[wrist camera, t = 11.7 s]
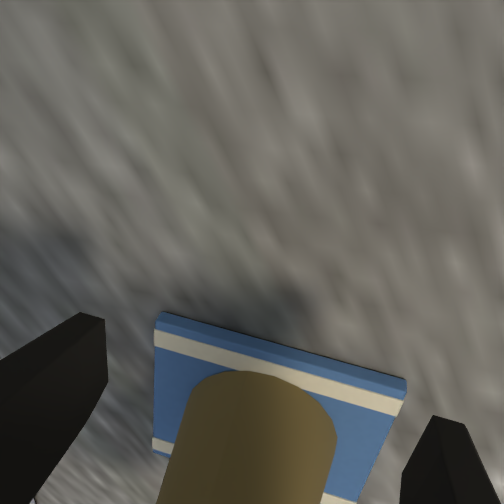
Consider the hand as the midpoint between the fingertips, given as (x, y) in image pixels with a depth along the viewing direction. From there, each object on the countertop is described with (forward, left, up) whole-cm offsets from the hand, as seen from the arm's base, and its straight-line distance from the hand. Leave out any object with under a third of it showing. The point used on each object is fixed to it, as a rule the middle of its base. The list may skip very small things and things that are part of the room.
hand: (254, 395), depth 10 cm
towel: (-8, 0, -6) cm, 9 cm away
